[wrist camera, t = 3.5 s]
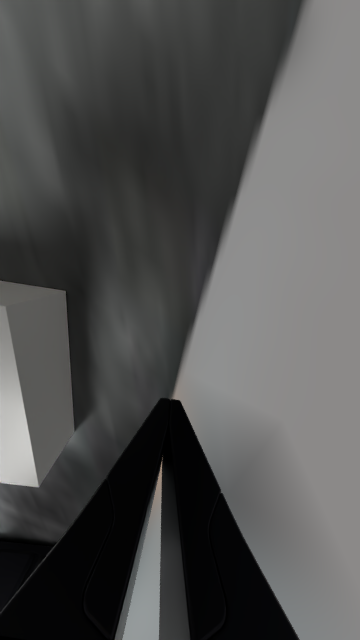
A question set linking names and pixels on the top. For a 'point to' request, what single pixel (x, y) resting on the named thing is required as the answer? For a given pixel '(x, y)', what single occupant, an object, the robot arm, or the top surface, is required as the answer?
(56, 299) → the white flat block
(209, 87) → the top surface
